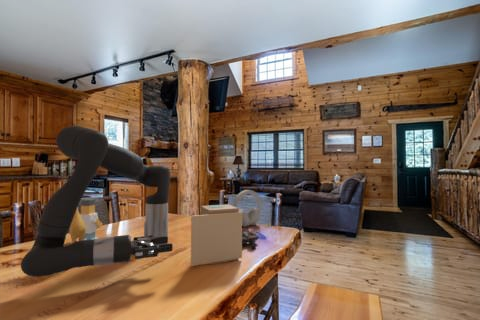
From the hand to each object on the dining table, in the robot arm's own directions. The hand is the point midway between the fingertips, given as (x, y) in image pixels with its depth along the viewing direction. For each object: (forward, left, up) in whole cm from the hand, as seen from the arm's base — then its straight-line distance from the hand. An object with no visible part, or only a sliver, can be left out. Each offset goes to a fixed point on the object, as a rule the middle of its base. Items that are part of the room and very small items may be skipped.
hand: (169, 243), depth 81 cm
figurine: (+27, +32, -9) cm, 42 cm away
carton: (+16, +11, -9) cm, 21 cm away
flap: (+15, +4, -8) cm, 18 cm away
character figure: (-39, +41, -9) cm, 57 cm away
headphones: (+36, +57, -9) cm, 68 cm away
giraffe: (-34, +16, -9) cm, 38 cm away
